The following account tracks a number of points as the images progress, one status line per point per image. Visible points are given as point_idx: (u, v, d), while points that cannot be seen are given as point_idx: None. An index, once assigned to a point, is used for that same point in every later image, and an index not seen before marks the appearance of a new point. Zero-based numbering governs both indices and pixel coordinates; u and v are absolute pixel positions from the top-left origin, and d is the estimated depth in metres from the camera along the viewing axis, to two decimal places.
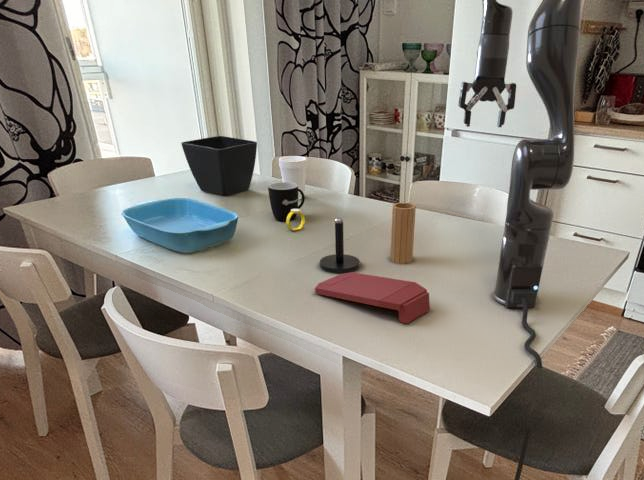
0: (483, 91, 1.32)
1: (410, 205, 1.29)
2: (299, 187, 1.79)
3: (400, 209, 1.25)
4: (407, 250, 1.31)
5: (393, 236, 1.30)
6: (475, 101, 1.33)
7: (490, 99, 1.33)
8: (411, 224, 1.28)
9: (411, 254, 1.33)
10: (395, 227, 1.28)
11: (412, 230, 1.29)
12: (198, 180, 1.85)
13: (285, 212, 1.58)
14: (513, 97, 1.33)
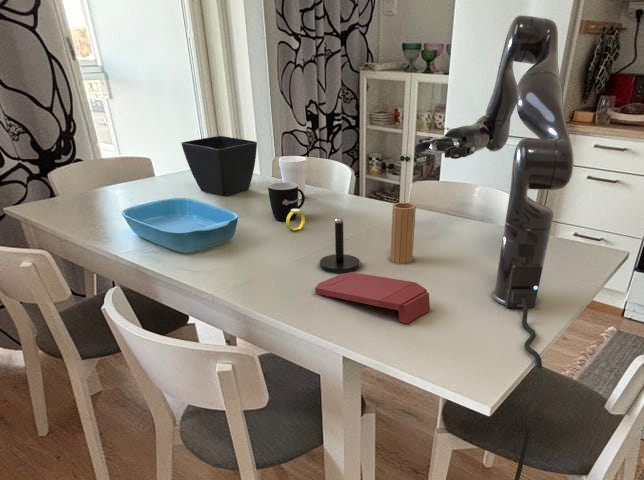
0: (443, 137, 1.34)
1: (410, 205, 1.29)
2: (299, 187, 1.79)
3: (400, 209, 1.25)
4: (407, 250, 1.31)
5: (393, 236, 1.30)
6: (433, 138, 1.34)
7: (447, 142, 1.32)
8: (411, 224, 1.28)
9: (411, 254, 1.33)
10: (395, 227, 1.28)
11: (412, 230, 1.29)
12: (198, 180, 1.85)
13: (285, 212, 1.58)
14: (469, 144, 1.30)
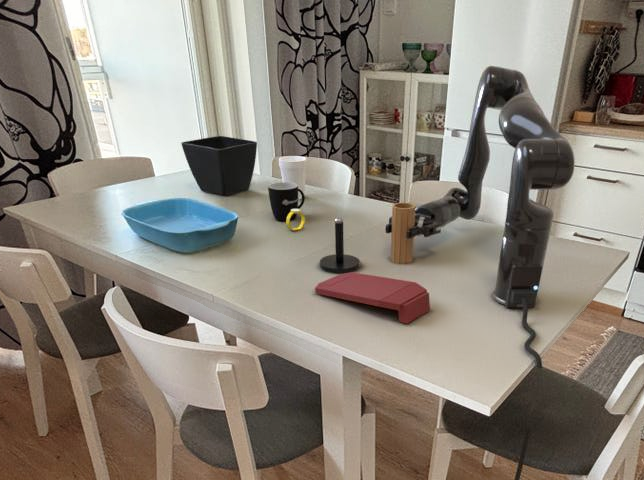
0: None
1: (410, 205, 1.29)
2: (299, 187, 1.79)
3: (400, 209, 1.25)
4: (407, 250, 1.31)
5: (393, 236, 1.30)
6: None
7: (415, 221, 1.33)
8: (411, 224, 1.28)
9: (411, 254, 1.33)
10: (395, 227, 1.28)
11: None
12: (198, 180, 1.85)
13: (285, 212, 1.58)
14: (432, 225, 1.30)
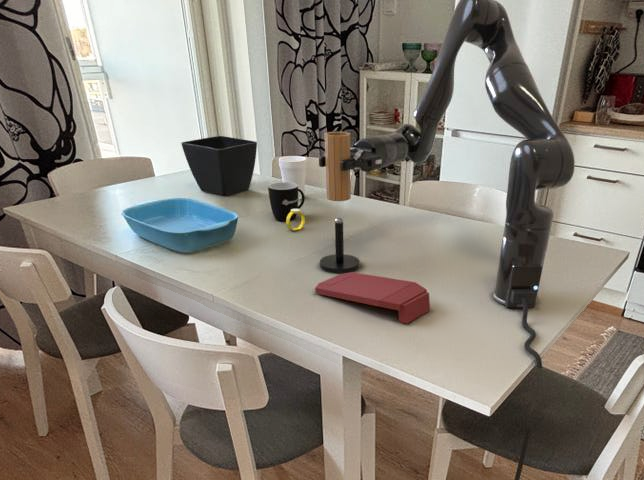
0: (350, 148, 1.22)
1: (345, 134, 1.16)
2: (299, 187, 1.79)
3: (332, 136, 1.12)
4: (343, 185, 1.18)
5: (327, 169, 1.17)
6: None
7: (353, 154, 1.20)
8: (345, 155, 1.15)
9: (348, 191, 1.20)
10: (328, 158, 1.15)
11: None
12: (198, 180, 1.85)
13: (285, 212, 1.58)
14: (371, 157, 1.17)
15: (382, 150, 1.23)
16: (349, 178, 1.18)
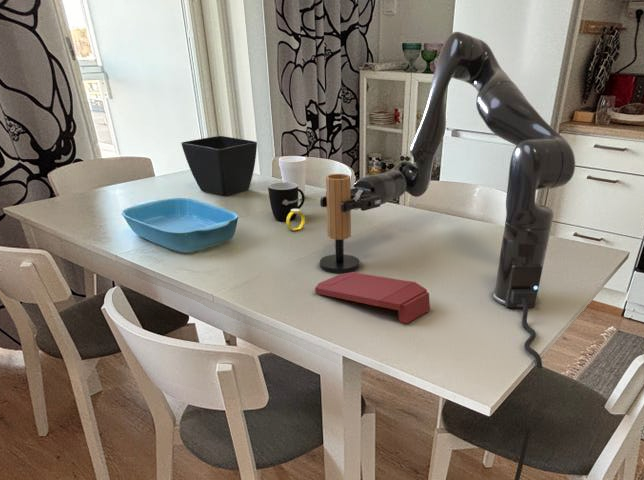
0: (350, 187, 1.27)
1: (345, 176, 1.21)
2: (299, 187, 1.79)
3: (333, 180, 1.17)
4: (343, 225, 1.23)
5: (328, 210, 1.22)
6: None
7: (353, 194, 1.25)
8: (346, 196, 1.20)
9: (349, 229, 1.25)
10: (329, 200, 1.20)
11: None
12: (198, 180, 1.85)
13: (285, 212, 1.58)
14: (370, 198, 1.22)
15: (381, 189, 1.28)
16: (349, 218, 1.23)
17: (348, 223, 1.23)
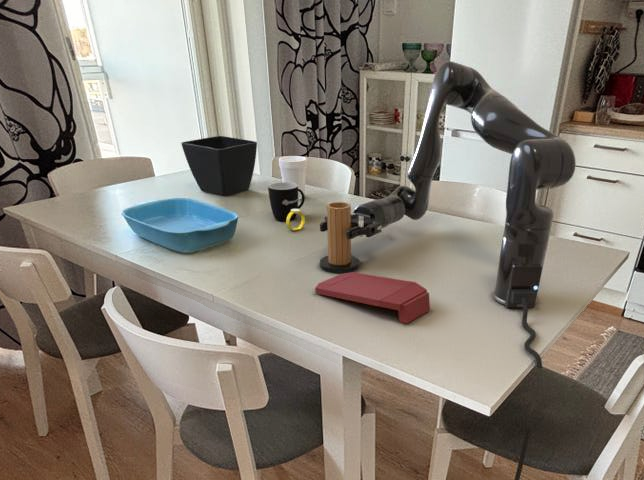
0: (351, 214, 1.30)
1: (346, 205, 1.24)
2: (299, 187, 1.79)
3: (333, 209, 1.21)
4: (344, 251, 1.26)
5: (329, 237, 1.25)
6: None
7: (353, 221, 1.28)
8: (346, 224, 1.23)
9: (349, 255, 1.28)
10: (330, 227, 1.24)
11: None
12: (198, 180, 1.85)
13: (285, 212, 1.58)
14: (373, 224, 1.25)
15: (380, 215, 1.31)
16: (349, 244, 1.27)
17: (348, 249, 1.27)
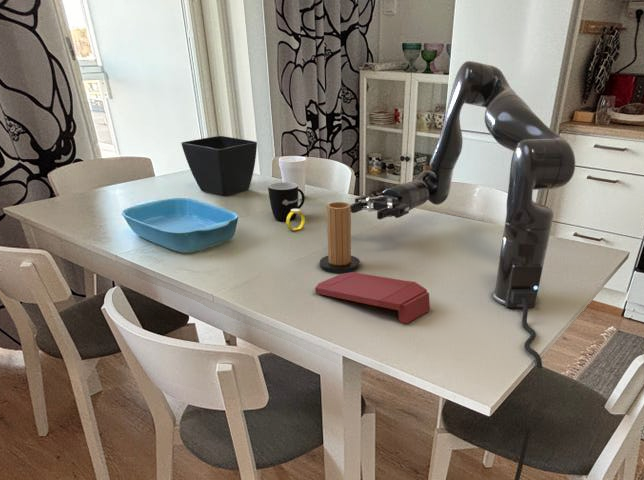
0: (379, 196, 1.37)
1: (346, 205, 1.24)
2: (299, 187, 1.79)
3: (333, 209, 1.21)
4: (344, 251, 1.26)
5: (329, 237, 1.25)
6: (369, 198, 1.36)
7: (382, 202, 1.35)
8: (346, 224, 1.23)
9: (349, 255, 1.28)
10: (330, 227, 1.24)
11: (348, 230, 1.25)
12: (198, 180, 1.85)
13: (285, 212, 1.58)
14: (402, 205, 1.32)
15: (407, 198, 1.39)
16: (349, 244, 1.27)
17: (348, 249, 1.27)
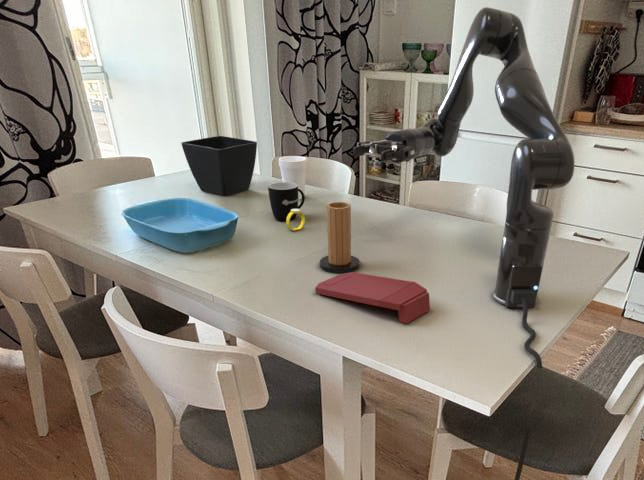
0: (383, 140, 1.30)
1: (346, 205, 1.24)
2: (299, 187, 1.79)
3: (333, 209, 1.21)
4: (344, 251, 1.26)
5: (329, 237, 1.25)
6: (372, 142, 1.30)
7: (386, 146, 1.28)
8: (346, 224, 1.23)
9: (349, 255, 1.28)
10: (330, 227, 1.24)
11: (348, 230, 1.25)
12: (198, 180, 1.85)
13: (285, 212, 1.58)
14: (407, 148, 1.26)
15: (412, 142, 1.32)
16: (349, 244, 1.27)
17: (348, 249, 1.27)
